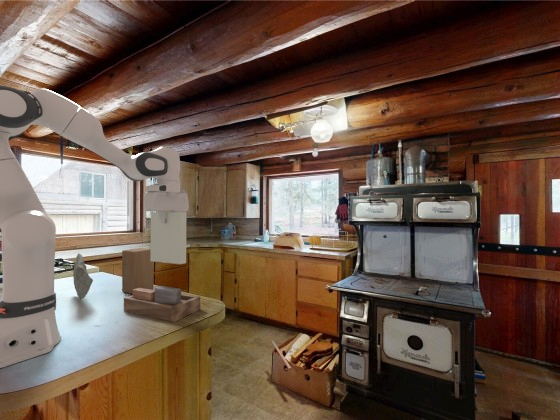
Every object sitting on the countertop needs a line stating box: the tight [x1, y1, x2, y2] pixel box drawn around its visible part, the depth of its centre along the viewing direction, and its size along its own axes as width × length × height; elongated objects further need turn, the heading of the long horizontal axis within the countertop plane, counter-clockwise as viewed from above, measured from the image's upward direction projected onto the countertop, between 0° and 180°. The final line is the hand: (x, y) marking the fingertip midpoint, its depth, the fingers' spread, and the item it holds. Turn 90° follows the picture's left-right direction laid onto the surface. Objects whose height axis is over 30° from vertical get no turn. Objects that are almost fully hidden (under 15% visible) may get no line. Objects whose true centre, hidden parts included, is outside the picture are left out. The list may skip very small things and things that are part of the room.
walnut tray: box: [123, 288, 201, 323], centre depth 109 cm, size 14×26×5 cm, turn 66°
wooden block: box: [121, 247, 154, 295], centre depth 136 cm, size 10×10×20 cm
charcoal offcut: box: [154, 285, 182, 306], centre depth 104 cm, size 3×10×10 cm, turn 66°
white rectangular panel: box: [150, 211, 187, 265], centre depth 112 cm, size 3×16×20 cm, turn 66°
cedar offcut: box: [132, 288, 155, 302], centre depth 109 cm, size 3×10×8 cm, turn 66°
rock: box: [72, 253, 94, 301], centre depth 122 cm, size 27×6×20 cm, turn 42°
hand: (168, 222), depth 112 cm, fingers closed on white rectangular panel, 3 cm apart
